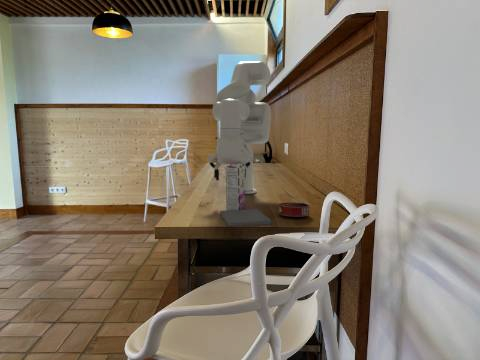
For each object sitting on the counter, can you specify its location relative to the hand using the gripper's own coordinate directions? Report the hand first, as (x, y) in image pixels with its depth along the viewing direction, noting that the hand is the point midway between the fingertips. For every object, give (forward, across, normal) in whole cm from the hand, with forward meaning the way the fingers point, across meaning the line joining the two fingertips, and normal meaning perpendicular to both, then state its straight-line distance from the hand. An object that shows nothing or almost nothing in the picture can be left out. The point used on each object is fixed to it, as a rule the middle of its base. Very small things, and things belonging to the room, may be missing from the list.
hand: (230, 179), depth 124 cm
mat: (+10, -1, +21) cm, 23 cm away
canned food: (+10, -16, +23) cm, 30 cm away
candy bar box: (+10, -1, +8) cm, 13 cm away
